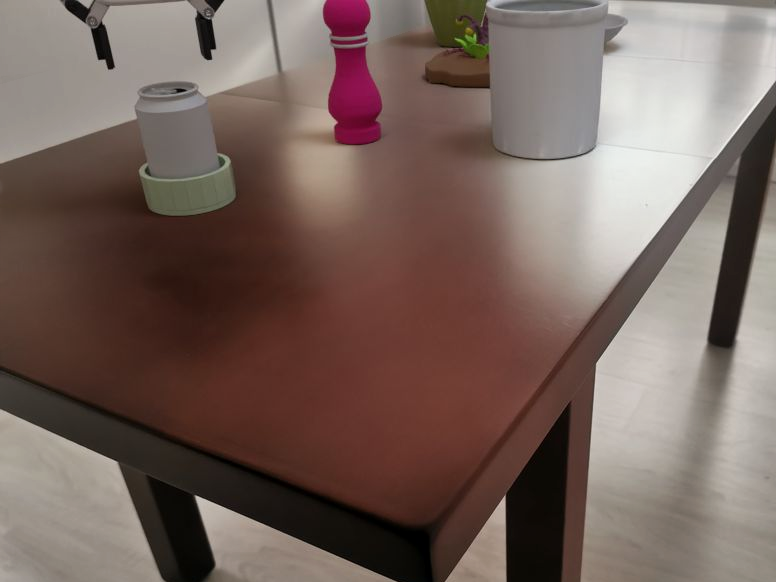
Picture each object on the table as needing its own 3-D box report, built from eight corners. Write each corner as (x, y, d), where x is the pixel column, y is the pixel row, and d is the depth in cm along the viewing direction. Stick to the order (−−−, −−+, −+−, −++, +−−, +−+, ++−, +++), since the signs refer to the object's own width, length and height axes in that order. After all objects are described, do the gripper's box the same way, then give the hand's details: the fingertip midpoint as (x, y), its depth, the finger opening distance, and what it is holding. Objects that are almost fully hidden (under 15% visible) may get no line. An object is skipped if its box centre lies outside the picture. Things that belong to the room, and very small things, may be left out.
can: (233, 196, 91) (213, 87, 84) (167, 211, 87) (141, 99, 81) (211, 178, 96) (191, 74, 90) (147, 191, 93) (121, 85, 86)
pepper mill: (336, 130, 113) (319, -26, 103) (387, 129, 113) (376, -27, 103) (327, 146, 107) (308, -18, 97) (381, 145, 107) (368, -19, 96)
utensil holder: (464, 148, 105) (461, 4, 96) (527, 120, 115) (529, -13, 106) (560, 169, 98) (567, 15, 88) (619, 138, 108) (631, -4, 98)
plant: (521, 92, 128) (522, 17, 122) (410, 83, 135) (406, 12, 129) (557, 64, 144) (559, -3, 138) (456, 58, 150) (454, -7, 145)
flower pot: (436, 34, 170) (433, -50, 161) (503, 38, 165) (504, -49, 157) (408, 49, 158) (403, -41, 149) (480, 53, 154) (479, -40, 145)
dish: (617, 60, 146) (619, 31, 144) (540, 56, 150) (541, 27, 148) (632, 40, 160) (634, 13, 158) (561, 37, 164) (562, 11, 162)
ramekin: (152, 222, 86) (143, 186, 84) (143, 192, 94) (134, 159, 92) (244, 206, 90) (237, 171, 88) (227, 178, 97) (221, 146, 95)
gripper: (210, -131, 81) (236, 47, 90) (19, -129, 75) (68, 62, 84) (223, -129, 75) (250, 61, 84) (18, -126, 69) (71, 79, 78)
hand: (159, 62), depth 84 cm, fingers open, 9 cm apart
